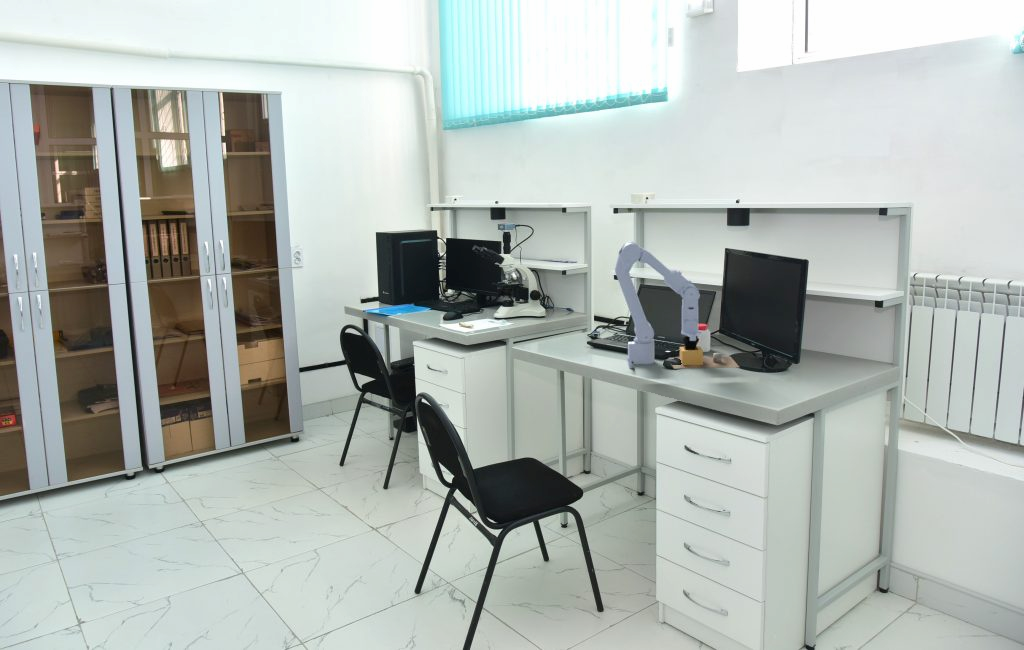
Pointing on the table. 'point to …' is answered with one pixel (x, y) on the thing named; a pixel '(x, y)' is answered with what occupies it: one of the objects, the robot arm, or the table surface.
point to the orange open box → (691, 356)
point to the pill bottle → (704, 337)
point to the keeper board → (711, 362)
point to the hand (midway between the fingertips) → (689, 356)
